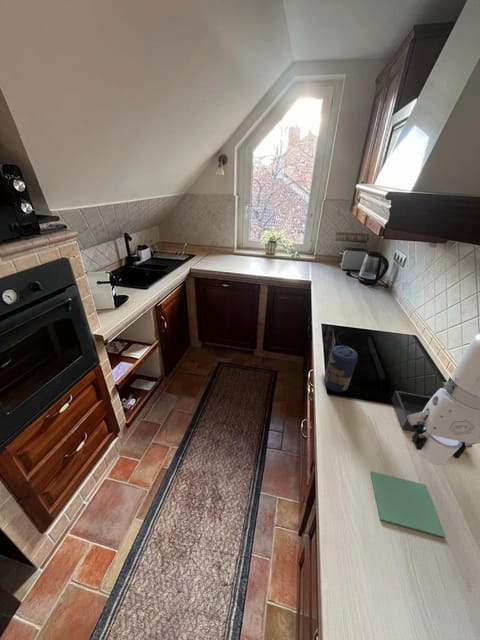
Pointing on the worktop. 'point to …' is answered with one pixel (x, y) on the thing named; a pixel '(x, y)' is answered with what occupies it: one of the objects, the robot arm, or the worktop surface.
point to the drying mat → (405, 504)
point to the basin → (408, 407)
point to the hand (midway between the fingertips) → (434, 448)
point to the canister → (340, 368)
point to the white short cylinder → (438, 449)
